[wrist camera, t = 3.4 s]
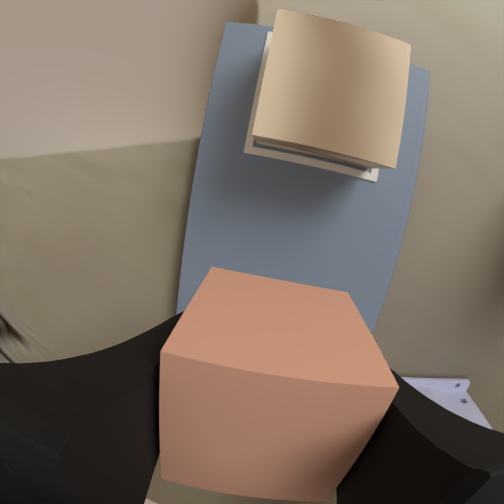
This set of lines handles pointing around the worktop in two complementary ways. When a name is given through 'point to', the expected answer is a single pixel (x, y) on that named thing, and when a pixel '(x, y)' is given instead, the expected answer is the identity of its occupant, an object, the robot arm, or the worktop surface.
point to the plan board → (293, 193)
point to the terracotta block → (268, 389)
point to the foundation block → (333, 91)
